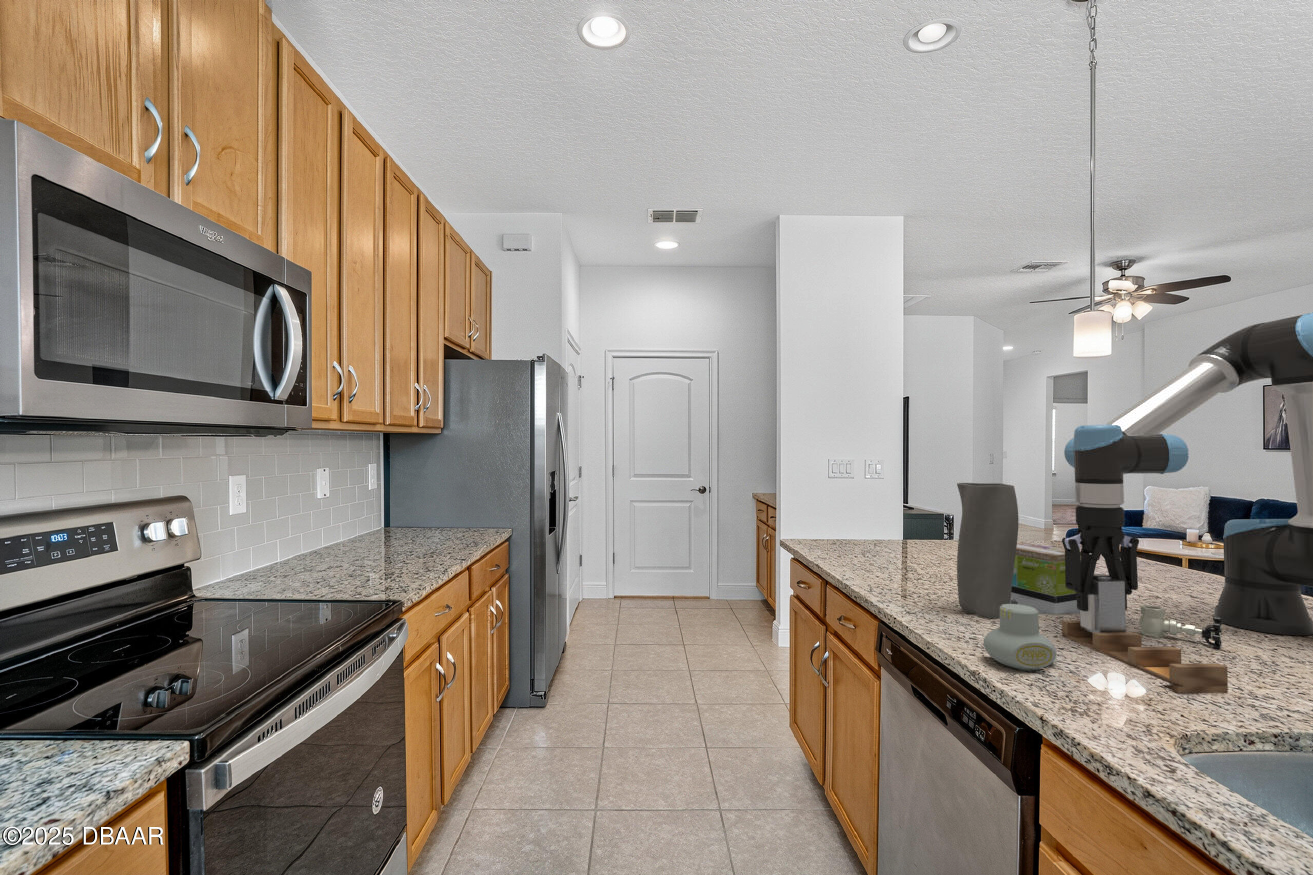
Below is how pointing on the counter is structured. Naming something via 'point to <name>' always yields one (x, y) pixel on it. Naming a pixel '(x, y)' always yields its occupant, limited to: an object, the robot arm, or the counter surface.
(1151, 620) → the valve
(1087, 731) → the counter surface
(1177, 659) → the wooden compartment tray
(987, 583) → the vase
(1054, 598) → the tea box
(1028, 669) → the air freshener
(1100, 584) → the block
